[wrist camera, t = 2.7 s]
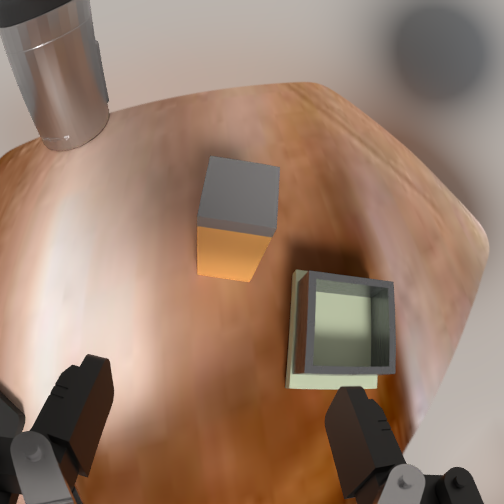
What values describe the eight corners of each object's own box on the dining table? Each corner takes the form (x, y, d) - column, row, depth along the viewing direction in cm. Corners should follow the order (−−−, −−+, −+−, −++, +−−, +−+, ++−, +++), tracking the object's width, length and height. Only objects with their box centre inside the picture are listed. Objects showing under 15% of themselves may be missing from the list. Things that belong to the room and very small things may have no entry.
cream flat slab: (292, 274, 27) (296, 269, 26) (370, 284, 28) (376, 280, 27) (285, 387, 23) (289, 388, 22) (370, 388, 24) (376, 388, 23)
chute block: (205, 227, 28) (210, 155, 19) (254, 235, 28) (279, 167, 19) (197, 274, 26) (197, 216, 17) (249, 282, 27) (276, 228, 18)
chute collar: (297, 282, 26) (309, 270, 23) (375, 292, 27) (393, 281, 24) (292, 374, 23) (304, 373, 20) (376, 375, 24) (395, 373, 21)
